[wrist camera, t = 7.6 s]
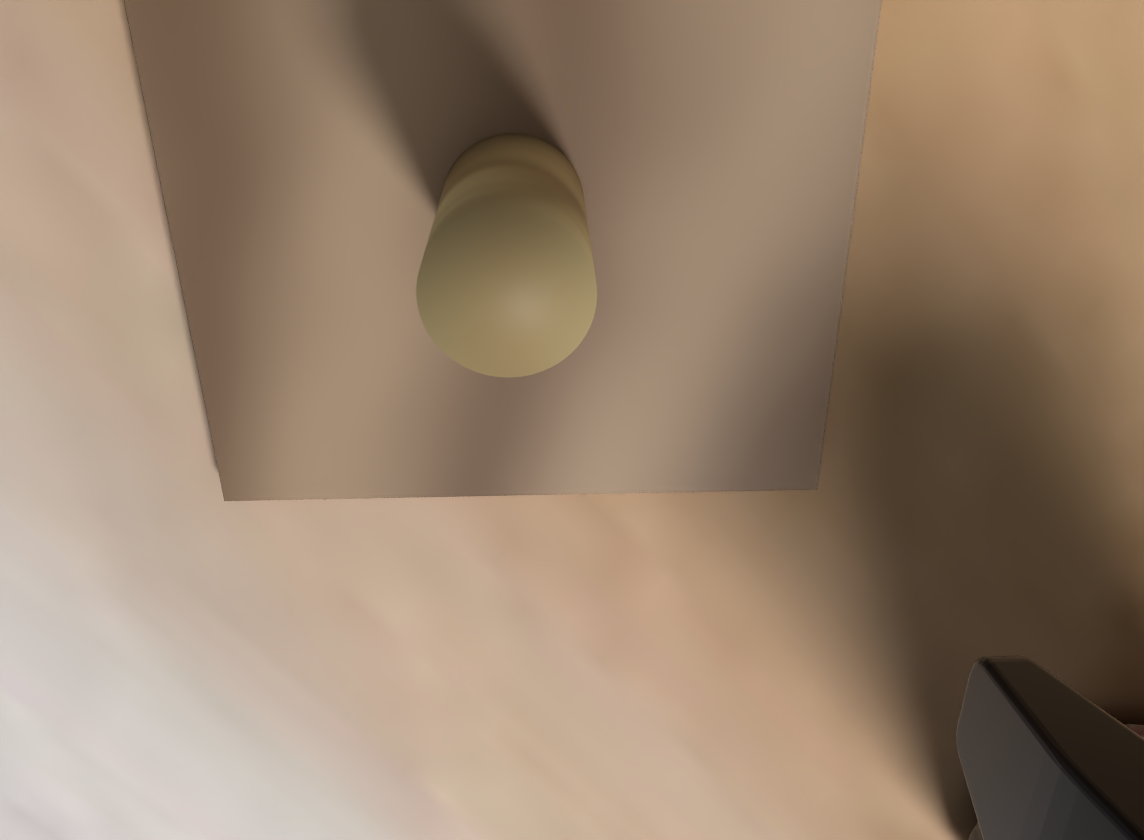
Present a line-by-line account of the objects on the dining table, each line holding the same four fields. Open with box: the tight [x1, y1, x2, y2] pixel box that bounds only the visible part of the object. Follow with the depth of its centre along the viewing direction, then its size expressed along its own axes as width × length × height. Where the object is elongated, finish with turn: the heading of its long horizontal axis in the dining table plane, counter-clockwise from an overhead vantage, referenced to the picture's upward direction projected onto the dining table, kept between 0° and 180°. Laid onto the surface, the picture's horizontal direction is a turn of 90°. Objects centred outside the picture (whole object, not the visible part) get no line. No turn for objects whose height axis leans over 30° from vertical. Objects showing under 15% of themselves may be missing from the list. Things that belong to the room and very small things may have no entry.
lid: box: [124, 0, 882, 501], centre depth 17 cm, size 13×13×6 cm
